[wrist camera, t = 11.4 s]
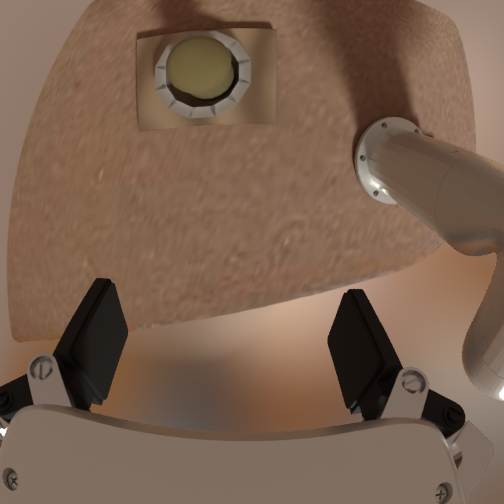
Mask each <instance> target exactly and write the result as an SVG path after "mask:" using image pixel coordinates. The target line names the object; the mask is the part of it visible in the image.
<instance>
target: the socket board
mask: <svg viewBox="0 0 504 504" xmlns="http://www.w3.org/2000/svg"><path fill="white" fill-rule="evenodd" d="M202 35H203V36H208V37H213V38H215V39H217V40H219V41H220V42H222V43H223V44H224V45H225V46H226V48H227V49H228V51H229V53H230V56H231V62H232V63H233V65H234V67H235V70H236V80H235V83H234V86H233V88H232V89H231V90H230V91H229V93H227V94H226V95H225V96H223V97H222V98H219V99H216V100H213V101H203V100H199V99H196V98H194V97H193V96H191V95H190V94H189V93H187V92H183V91H181V90H179V89H178V88H176V87H175V86H174V85H173V84H172V83H171V82H170V81H169V78H168V76H167V73H166V61H167V58H168V55H169V53H170V52H171V50H172V49H173V48H174V46H175V45H177V44H178V43H179V42H181V41H182V40H184V39H187V38H189V37H192V36H202ZM276 71H277V29H258V28H228V29H208V30H196V31H186V32H178V33H171V34H164V35H158V36H153V37H148V38H143V39H138V40H137V106H138V124H139V132H141V131H148V130H156V129H164V128H174V127H185V126H198V125H216V124H276Z"/></svg>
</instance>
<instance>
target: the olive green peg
mask: <svg viewBox="0 0 504 504" xmlns="http://www.w3.org/2000/svg"><path fill="white" fill-rule="evenodd" d="M166 73H167V76H168V78H169V81H170V82H171V83H172V84H173V85H174V86H175V87H176V88H178V89H179V90H181V91H183V92H187V93H189V94H190V95H191V96H193V97H194V98H196V99H199V100H203V101H213V100H216V99H219V98H222V97H223V96H225V95H226V94H227V93H229V91H230V90H231V89H232V88H233V86H234V83H235V80H236V70H235V67H234V65H233V63H232V62H231V56H230V53H229V51H228V49H227V48H226V46H225V45H224V44H223V43H222V42H220V41H219V40H217V39H215V38H213V37H208V36H203V35H202V36H192V37H189V38H187V39H184V40H182V41H181V42H179V43H178V44H177V45H175V46H174V48H173V49H172V50H171V52H170V53H169V55H168V58H167V61H166Z"/></svg>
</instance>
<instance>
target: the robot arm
mask: <svg viewBox="0 0 504 504" xmlns="http://www.w3.org/2000/svg"><path fill="white" fill-rule="evenodd" d="M361 155H362V157H361V158H360V156H361ZM355 170H356V175H357V178H358V180H359V183H360V184H361V186H362V187H363V189H364V190H365V191H366V192H367V193H368V194H369V195H370V196H371V197H372V198H374V199H375V200H377V201H379V202H382V203H385V204H398V203H399V204H400V205H401V206H403V207H404V208H405V209H406V210H408V211H409V212H410V213H412V214H413V215H414V216H415V217H417V218H418V219H419V220H420V221H422V222H423V223H424V224H425V225H426V226H428V227H429V228H430V229H431V230H432V231H434V232H435V233H436V234H437V235H438V236H439V237H440V238H442V239H443V240H444V241H445V242H446V243H448V244H449V245H450V246H451V247H452V248H453V249H455V250H456V251H458V252H460V253H462V254H464V255H467V256H482V255H487V254H491V253H494V252H495V253H496V255H497V263H496V267H495V270H494V273H493V275H492V279H491V282H490V285H489V287H488V289H487V291H486V293H485V296H484V298H483V300H482V302H481V304H480V306H479V308H478V310H477V312H476V314H475V317H474V319H473V321H472V323H471V325H470V327H469V329H468V332H467V334H466V337H465V340H464V343H463V348H462V362H463V367H464V370H465V372H466V374H467V376H468V378H469V379H470V381H471V382H472V383H473V385H474V386H475V387H477V388H478V389H479V390H480V391H481V392H483V393H485V394H486V395H488V396H490V397H492V398H494V399H497V400H500V401H504V165H502V164H500V163H498V162H495V161H493V160H491V159H488V158H486V157H484V156H481V155H479V154H476V153H474V152H471V151H469V150H466V149H464V148H461V147H458V146H455V145H453V144H450V143H447V142H444V141H441V140H438V139H435V138H432V137H428V136H425V135H424V134H423V133H422V132H421V130H420V129H419V128H418V127H417V126H416V125H415V124H414V123H412V122H410V121H409V120H406V119H404V118H400V117H384V118H381V119H379V120H377V121H375V122H373V123H372V124H371V125H370V126H368V127H367V129H366V130H365V131H364V132H363V134H362V135H361V137H360V139H359V141H358V144H357V147H356V152H355ZM127 336H128V328H127V325H126V321H125V318H124V315H123V312H122V308H121V305H120V301H119V298H118V294H117V290H116V287H115V284H114V283H112V282H111V280H110V279H105V278H96V280H95V281H94V282H93V284H92V286H91V287H90V289H89V290H88V292H87V294H86V295H85V297H84V299H83V300H82V302H81V304H80V305H79V307H78V309H77V310H76V312H75V314H74V315H73V317H72V319H71V321H70V322H69V324H68V326H67V328H66V330H65V332H64V333H63V335H62V337H61V339H60V341H59V343H58V345H57V347H56V349H55V351H54V353H53V355H51V354H49V353H41V354H38V355H36V356H34V357H33V358H32V359H31V360H30V362H29V364H28V366H27V374H25V375H23V376H21V377H19V378H17V379H15V380H13V381H11V382H9V383H7V384H5V385H3V386H1V387H0V504H465V503H466V501H467V500H468V498H469V497H470V495H471V494H472V492H473V491H474V489H475V488H476V486H477V484H478V483H479V481H480V479H481V478H482V476H483V474H484V472H485V471H486V469H487V467H488V465H489V463H490V461H491V459H492V458H493V454H494V447H493V444H492V443H491V441H490V440H489V439H488V438H487V437H486V436H485V435H484V434H483V433H482V432H481V431H480V430H479V429H478V428H476V427H475V426H474V425H473V424H472V423H471V422H470V421H467V422H466V421H465V413H464V410H463V409H462V407H461V406H460V405H459V404H457V403H456V402H454V401H452V400H450V399H448V398H446V397H444V396H442V395H440V394H438V393H436V392H434V391H433V390H430V389H429V381H428V378H427V377H426V375H425V374H424V373H423V372H422V371H420V370H419V369H417V368H414V367H406V368H404V369H403V367H402V365H401V363H400V361H399V358H398V356H397V354H396V352H395V350H394V348H393V346H392V344H391V342H390V340H389V338H388V336H387V333H386V332H385V330H384V328H383V326H382V324H381V322H380V321H379V319H378V317H377V315H376V313H375V311H374V309H373V307H372V305H371V304H370V302H369V300H368V298H367V296H366V294H365V293H364V291H363V290H362V289H349V290H348V291H347V293H344V294H343V297H342V300H341V303H340V305H339V308H338V311H337V314H336V317H335V319H334V322H333V325H332V327H331V330H330V333H329V335H328V346H329V350H330V353H331V356H332V360H333V363H334V366H335V370H336V374H337V377H338V381H339V384H340V388H341V391H342V395H343V398H344V402H345V405H346V408H348V409H349V408H350V412H351V414H357V413H362V417H363V420H362V422H359V423H352V424H346V425H340V426H332V427H324V428H316V429H306V430H295V431H280V432H215V431H200V430H188V429H179V428H170V427H163V426H156V425H149V424H143V423H138V422H132V421H128V420H122V419H118V418H113V417H109V416H104V415H100V414H96V413H92V412H91V410H90V406H91V403H93V404H98V405H102V402H103V400H105V399H107V397H108V393H109V390H110V386H111V383H112V380H113V377H114V374H115V371H116V368H117V365H118V362H119V359H120V356H121V353H122V350H123V347H124V345H125V342H126V339H127Z"/></svg>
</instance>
